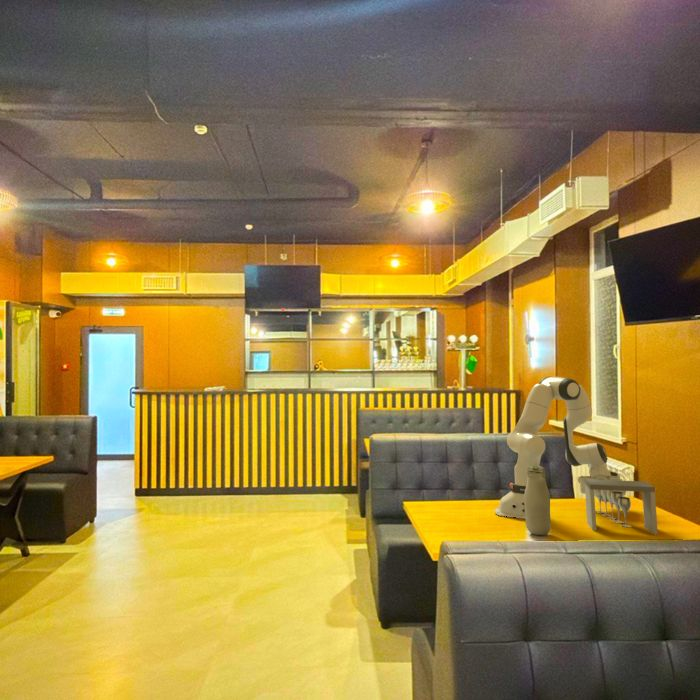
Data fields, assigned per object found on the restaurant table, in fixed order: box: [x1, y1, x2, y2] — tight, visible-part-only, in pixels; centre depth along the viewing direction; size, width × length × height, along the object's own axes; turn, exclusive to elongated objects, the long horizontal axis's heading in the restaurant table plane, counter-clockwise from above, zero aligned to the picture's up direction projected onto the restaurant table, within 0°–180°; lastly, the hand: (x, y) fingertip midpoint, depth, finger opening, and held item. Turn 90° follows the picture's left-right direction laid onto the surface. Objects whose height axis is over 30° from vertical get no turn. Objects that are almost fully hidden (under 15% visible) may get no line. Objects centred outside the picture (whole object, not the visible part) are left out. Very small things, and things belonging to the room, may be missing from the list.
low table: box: [585, 479, 659, 535], centre depth 199 cm, size 24×12×19 cm, turn 73°
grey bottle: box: [524, 465, 552, 536], centre depth 193 cm, size 10×10×28 cm
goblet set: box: [594, 490, 633, 528], centre depth 213 cm, size 28×6×13 cm, turn 177°
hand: (605, 501), depth 224 cm, fingers closed
